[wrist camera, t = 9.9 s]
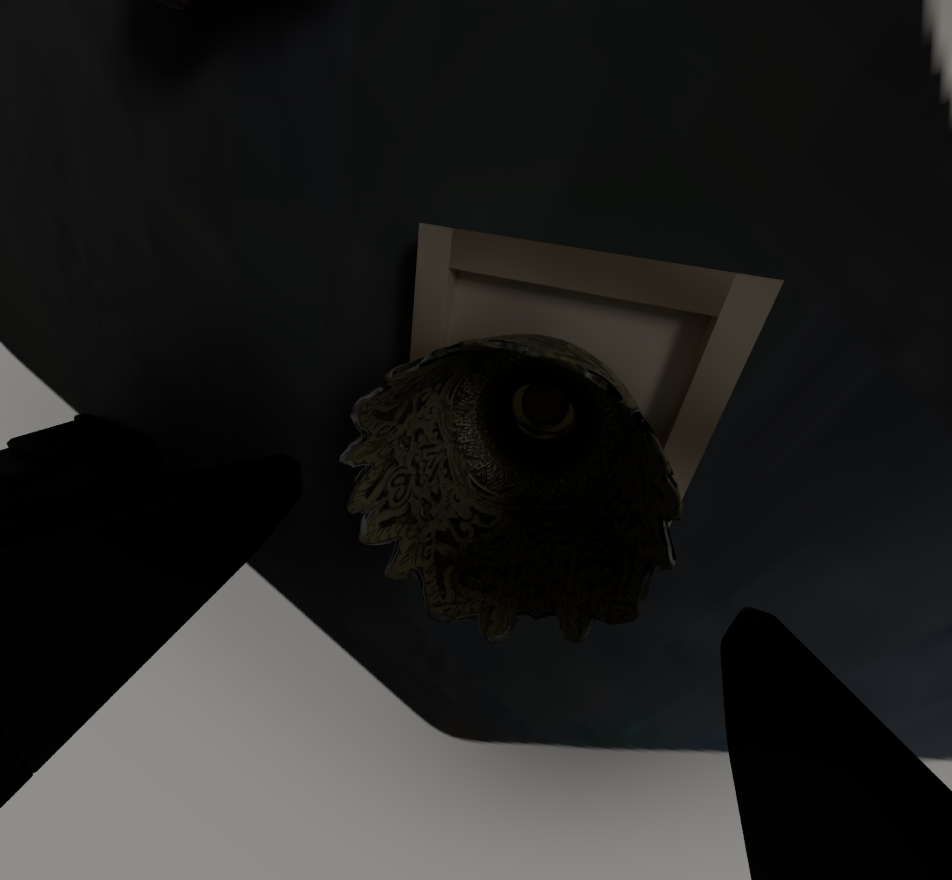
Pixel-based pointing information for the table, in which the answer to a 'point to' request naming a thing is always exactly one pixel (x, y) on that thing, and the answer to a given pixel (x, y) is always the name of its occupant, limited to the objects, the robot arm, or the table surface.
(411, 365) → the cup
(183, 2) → the decorative bird
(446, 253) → the birch stand
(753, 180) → the table surface
